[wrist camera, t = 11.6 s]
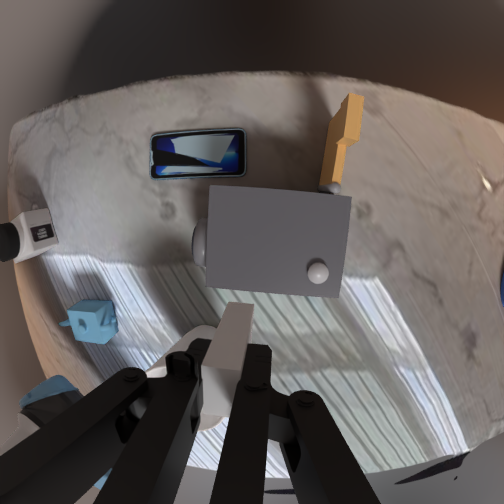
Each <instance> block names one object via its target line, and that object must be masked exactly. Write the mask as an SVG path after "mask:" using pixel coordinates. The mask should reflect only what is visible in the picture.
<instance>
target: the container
mask: <svg viewBox="0 0 504 504" xmlns="http://www.w3.org/2000/svg"><path fill="white" fill-rule="evenodd" d="M56 245H58V240H57V237H56V234H55V231H54V227H53V224H52V220H51V217H50V213H49V209H48V208H44V209H37V210H31V211H25V212H22V213H20V214H19V215H18V216H17V217H15V218H14V219H13V220H12V221H11V222H9V223H4V224H0V261H2V262H5V261H8V260H11V259H14V262H15V263H18V262H21V261H24V260H26V259H29V258H32V257H35V256H38V255H40V254H42V253H43V252H45V251H47V250H49V249H51V248H52V247H54V246H56Z"/></svg>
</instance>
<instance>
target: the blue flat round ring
mask: <svg viewBox="0 0 504 504" xmlns="http://www.w3.org/2000/svg"><path fill="white" fill-rule="evenodd" d="M501 300H502V304H503V307H504V272H503V277H502V282H501Z"/></svg>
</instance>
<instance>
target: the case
mask: <svg viewBox="0 0 504 504" xmlns="http://www.w3.org/2000/svg"><path fill="white" fill-rule="evenodd" d="M351 199H352V197H349V196H341V195H332V194H323V193H314V192H304V191H293V190H282V189H269V188H255V187H240V186H221V185H210V188H209V206H208V218H200V219H199V221H198V223H197V225H196V227H195V229H194V232H193V237H192V254H193V257H194V261H195V264H196V265H197V266H202V267H206V287H212V288H222V289H232V290H242V291H252V292H264V293H275V294H287V295H300V296H314V297H329V298H339V292H340V286H341V280H342V274H343V267H344V260H345V253H346V245H347V237H348V229H349V219H350V210H351Z"/></svg>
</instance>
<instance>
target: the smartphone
mask: <svg viewBox="0 0 504 504" xmlns="http://www.w3.org/2000/svg"><path fill="white" fill-rule="evenodd" d="M245 172H246V132H245V131H244V130H243V129H240V128H237V129H213V130H197V131H185V132H174V133H164V134H156V135H154V136H152V138H151V140H150V177H151V178H152V179H153V180H165V179H187V178H206V177H241V176H243V175H244V174H245Z"/></svg>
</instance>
